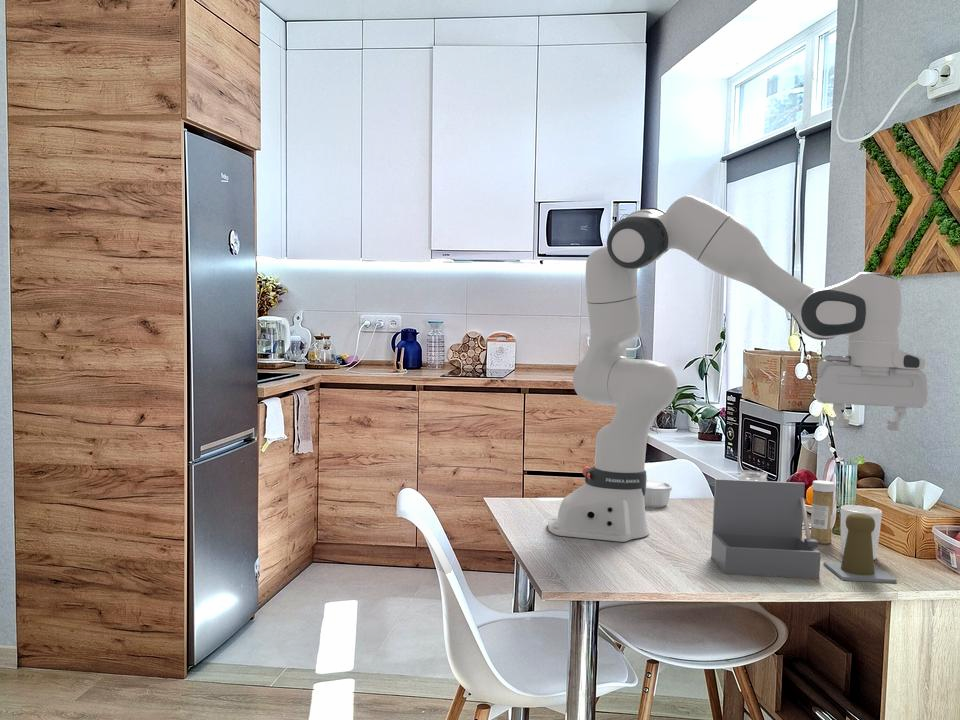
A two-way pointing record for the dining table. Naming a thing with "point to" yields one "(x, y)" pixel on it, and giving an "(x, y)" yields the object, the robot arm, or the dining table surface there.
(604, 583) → the dining table surface
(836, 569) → the mat
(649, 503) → the ramekin
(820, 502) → the sprinkles bottle
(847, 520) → the cork
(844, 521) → the white cup
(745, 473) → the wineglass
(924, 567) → the dining table surface
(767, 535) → the case
